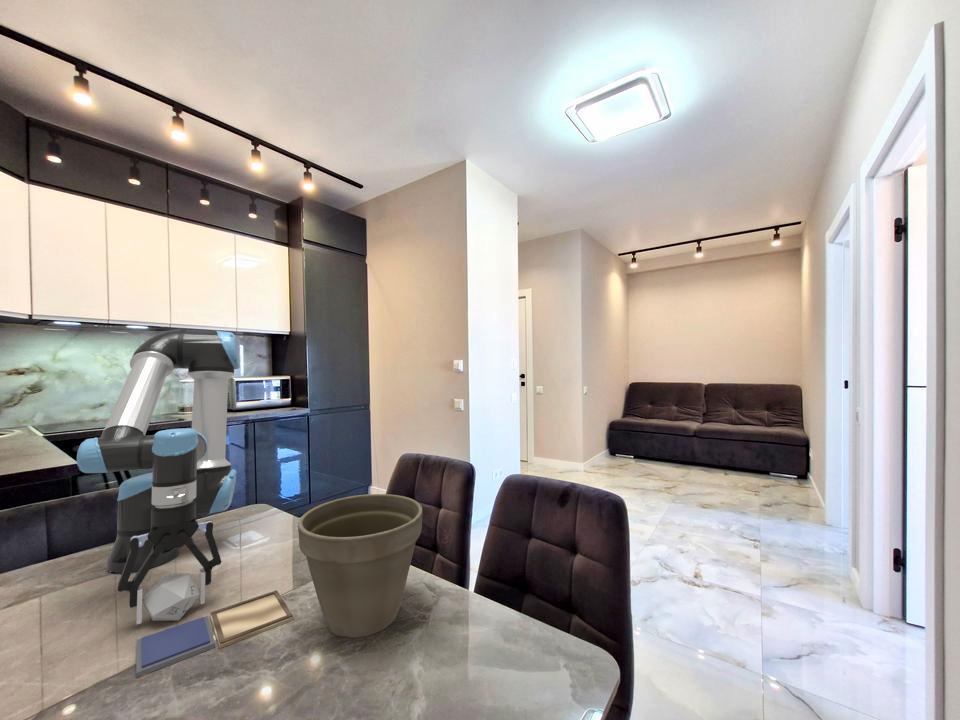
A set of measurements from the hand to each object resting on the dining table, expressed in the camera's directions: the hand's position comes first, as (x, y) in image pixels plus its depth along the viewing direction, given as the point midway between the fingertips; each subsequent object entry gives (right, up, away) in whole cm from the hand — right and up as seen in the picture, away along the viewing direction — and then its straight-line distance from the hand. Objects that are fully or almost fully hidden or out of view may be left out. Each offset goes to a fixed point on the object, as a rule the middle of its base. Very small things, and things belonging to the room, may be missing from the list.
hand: (171, 610), depth 82 cm
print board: (+17, -1, -1) cm, 17 cm away
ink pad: (+8, -1, -9) cm, 12 cm away
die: (0, -1, 0) cm, 1 cm away
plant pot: (+40, -1, -1) cm, 40 cm away
